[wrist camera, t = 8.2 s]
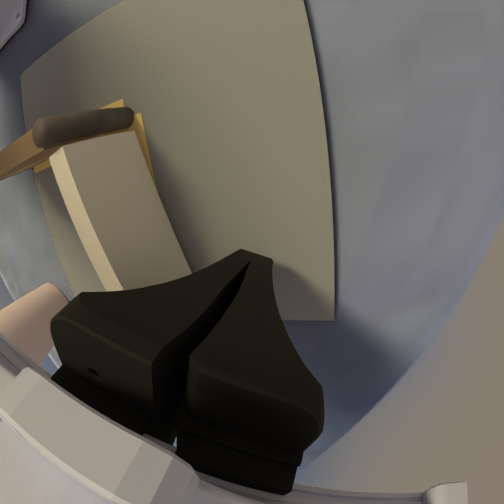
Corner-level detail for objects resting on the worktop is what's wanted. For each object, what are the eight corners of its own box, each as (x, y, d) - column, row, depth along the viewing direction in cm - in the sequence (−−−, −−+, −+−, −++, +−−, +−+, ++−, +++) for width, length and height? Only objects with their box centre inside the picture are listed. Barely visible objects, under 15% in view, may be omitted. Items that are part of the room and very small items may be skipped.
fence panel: (119, 138, 11) (48, 157, 7) (134, 130, 10) (62, 146, 7) (186, 298, 14) (145, 355, 10) (202, 296, 13) (162, 355, 10)
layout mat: (23, 74, 11) (19, 74, 11) (290, -49, 6) (288, -52, 6) (79, 299, 17) (76, 302, 17) (334, 316, 13) (333, 321, 12)
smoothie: (94, 346, 20) (-5, 469, 8) (46, 319, 21) (-47, 416, 9) (74, 280, 17) (-65, 417, 5) (25, 258, 18) (-92, 358, 6)
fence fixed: (28, 154, 13) (-35, 177, 9) (136, 103, 11) (45, 113, 6) (31, 168, 14) (-31, 194, 9) (140, 125, 11) (50, 143, 7)
